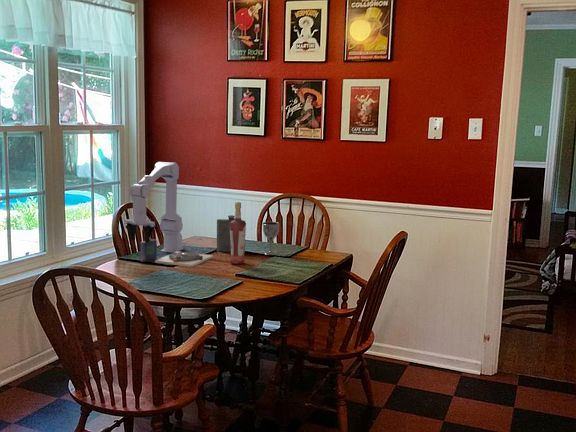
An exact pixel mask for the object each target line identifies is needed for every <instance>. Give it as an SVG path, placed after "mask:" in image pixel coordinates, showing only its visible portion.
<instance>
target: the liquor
mask: <svg viewBox="0 0 576 432" xmlns="http://www.w3.org/2000/svg"><path fill="white" fill-rule="evenodd" d="M234 208H235V211H234V212H235V213H234V216H235V217H234V219H235V220H233V221H231V222H230V241H231V252H230V259H229V262H230V263H231V264H232V265H234V266H235V265H236V266H241V265H243V264H244V263H245V262H246V259H245V253H244V248H245V249H246V232H247V231H246V227H247V223H246V221H245V220H244V219H242V211H241V210H242V209H241V208H242V202H240V201H239V202H234ZM244 221H245V222H244Z"/></svg>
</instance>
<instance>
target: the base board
mask: <svg viewBox="0 0 576 432" xmlns="http://www.w3.org/2000/svg"><path fill="white" fill-rule="evenodd" d="M175 253H176V252H175ZM171 254H173V253H172V252H171ZM198 254H199V255H200V256H199V258H198V259H196V260H190V261H177V262H175V261H173V260H172V259H170V258H169V255H170V254H168V255H165V256H162V257H160V258H156V259H154V263H156V264H163V265H172V266H173V265H174V266H180V267H189V268H193V267H195V266H199V264H202V263H204V262H206V261H208V260H210V259H213V257H214V256H213V254H204V253H198Z"/></svg>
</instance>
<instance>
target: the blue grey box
mask: <svg viewBox="0 0 576 432" xmlns="http://www.w3.org/2000/svg"><path fill="white" fill-rule="evenodd" d="M157 241H158V240H157V239H155V238H150V241H149V242H147V243H146V242H145V240H144V241H140V243H139V244H140V245H139V246H140V251H139V252H140V257H139V258H140V259H139V260H140V262H142V263H143V262H149V261H152V260H157V259H158V258H157V252H158V251H157V243H158V242H157Z"/></svg>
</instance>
